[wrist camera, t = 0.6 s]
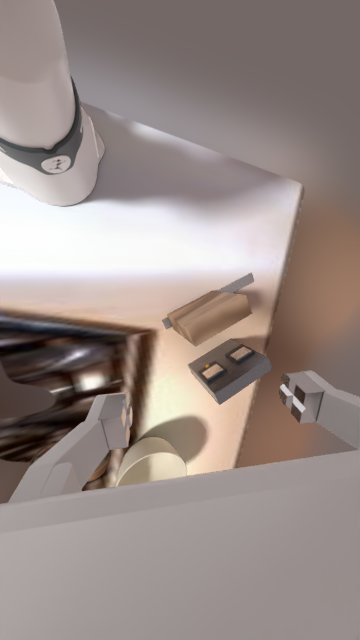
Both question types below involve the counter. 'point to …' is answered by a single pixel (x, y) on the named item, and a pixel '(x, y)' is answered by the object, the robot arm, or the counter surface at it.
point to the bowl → (150, 462)
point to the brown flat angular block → (209, 315)
